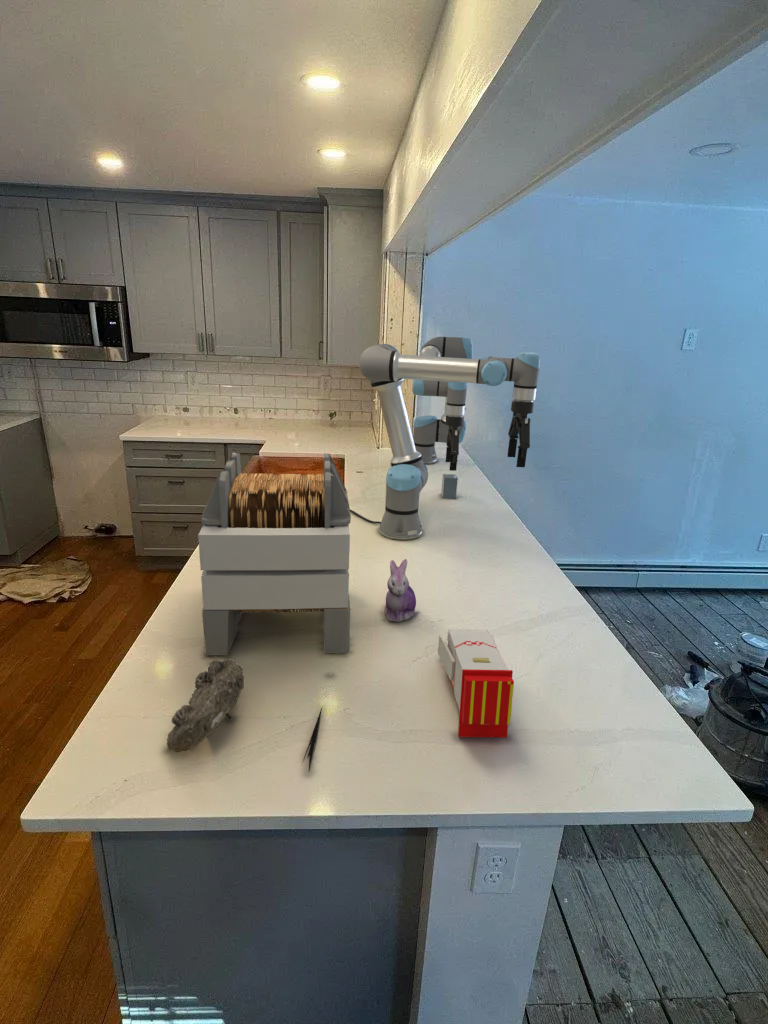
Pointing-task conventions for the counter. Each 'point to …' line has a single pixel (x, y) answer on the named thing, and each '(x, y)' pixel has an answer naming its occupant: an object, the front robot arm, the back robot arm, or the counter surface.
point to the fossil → (206, 705)
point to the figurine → (399, 594)
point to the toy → (478, 682)
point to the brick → (449, 486)
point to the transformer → (275, 551)
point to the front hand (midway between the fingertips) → (515, 461)
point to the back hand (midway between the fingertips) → (450, 466)
